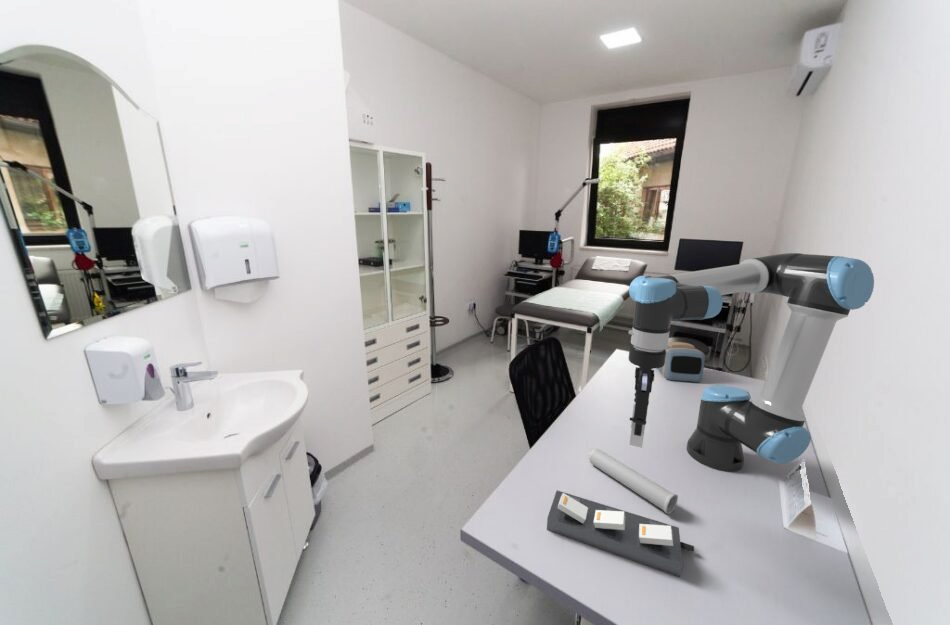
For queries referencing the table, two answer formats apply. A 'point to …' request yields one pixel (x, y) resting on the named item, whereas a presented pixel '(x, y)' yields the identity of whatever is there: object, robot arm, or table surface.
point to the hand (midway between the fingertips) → (636, 436)
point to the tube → (634, 480)
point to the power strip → (618, 536)
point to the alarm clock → (683, 362)
